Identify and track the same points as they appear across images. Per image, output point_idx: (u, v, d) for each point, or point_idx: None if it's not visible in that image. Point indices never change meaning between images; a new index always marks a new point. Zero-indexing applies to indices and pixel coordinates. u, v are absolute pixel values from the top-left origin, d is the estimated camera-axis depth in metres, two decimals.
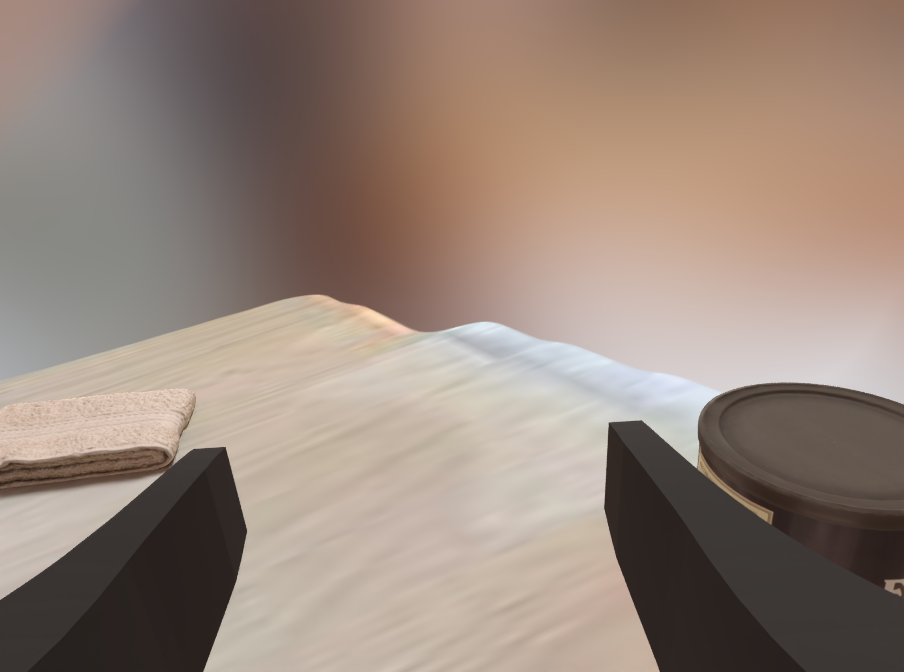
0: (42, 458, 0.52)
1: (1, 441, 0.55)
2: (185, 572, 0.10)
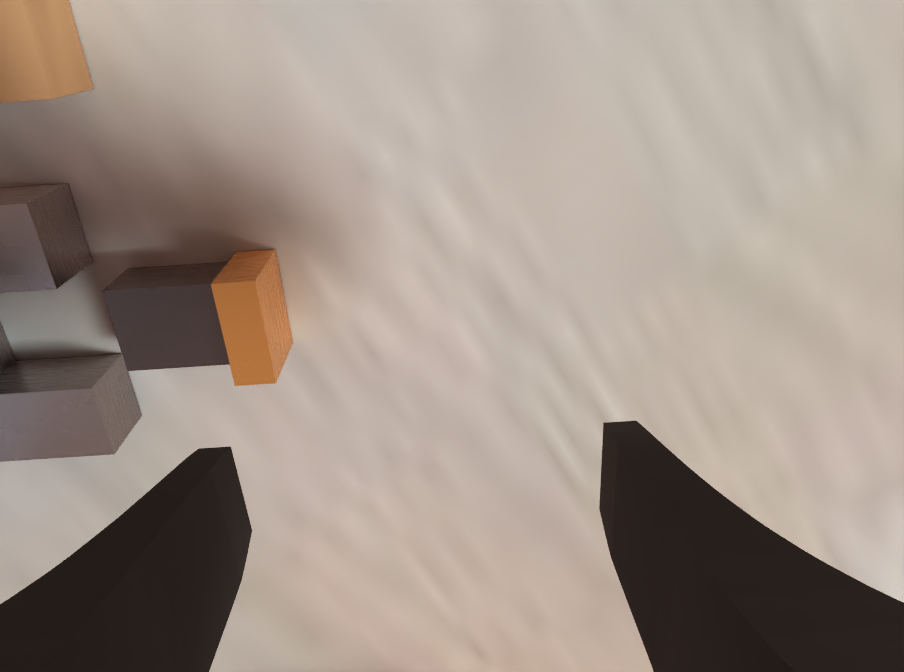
0: None
1: None
2: (191, 571, 0.10)
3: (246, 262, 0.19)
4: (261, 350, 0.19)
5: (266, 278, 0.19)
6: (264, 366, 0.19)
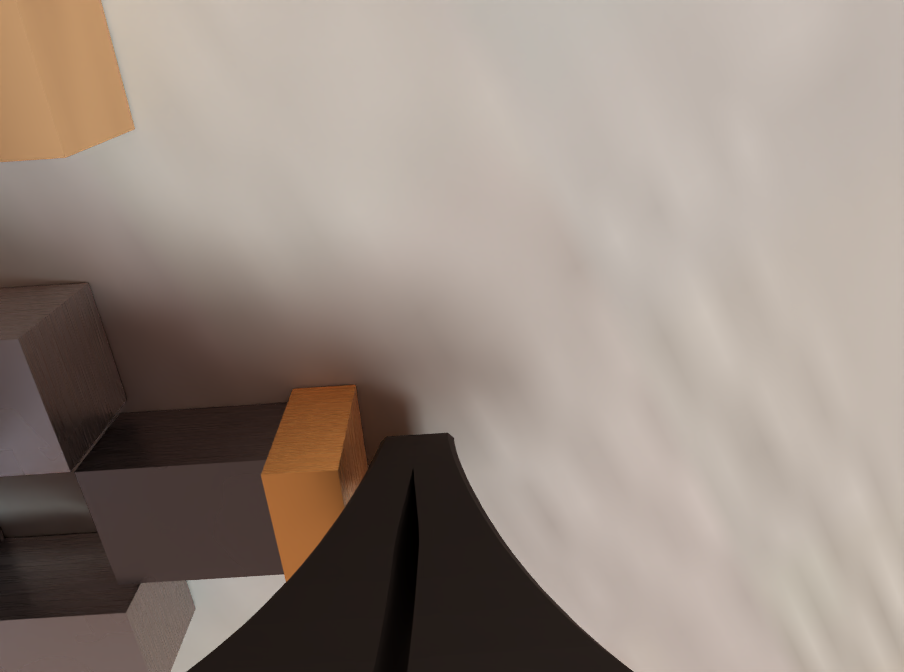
0: None
1: None
2: (412, 558, 0.10)
3: (314, 416, 0.12)
4: None
5: (349, 445, 0.12)
6: None
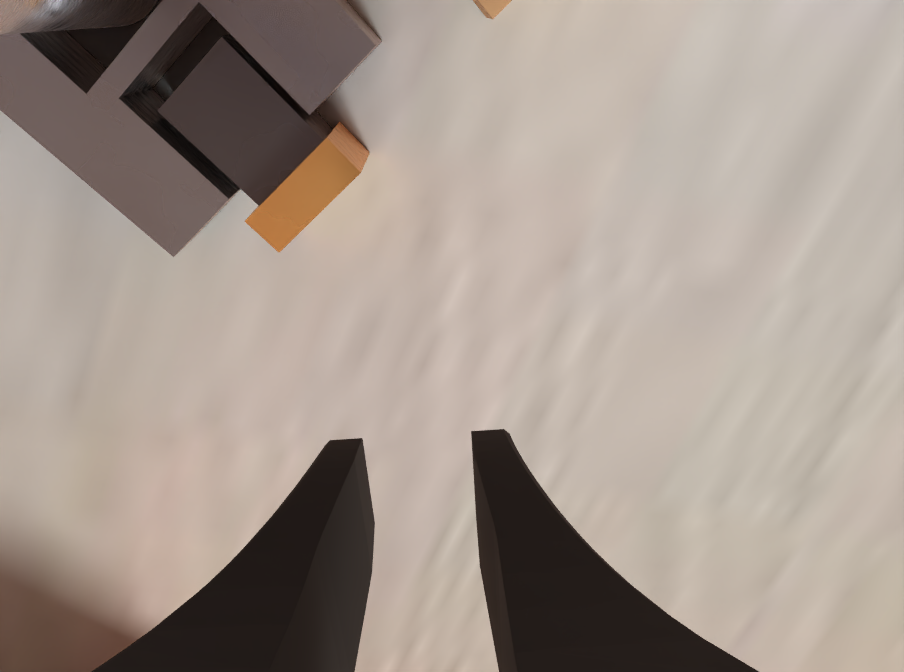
0: None
1: None
2: (345, 562, 0.10)
3: (350, 143, 0.18)
4: (299, 220, 0.18)
5: None
6: (286, 233, 0.18)
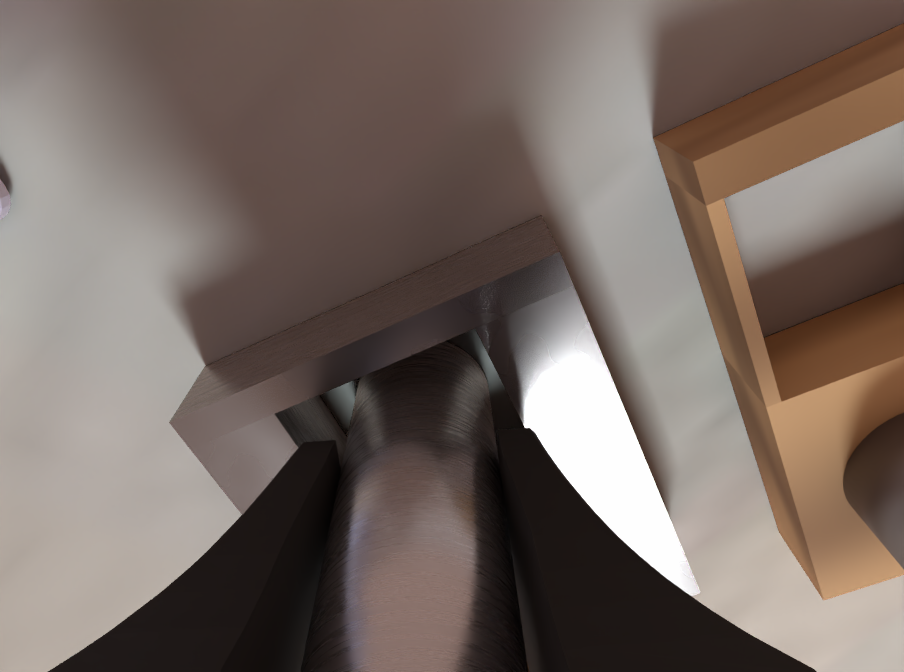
0: None
1: None
2: (313, 564, 0.10)
3: None
4: None
5: None
6: None
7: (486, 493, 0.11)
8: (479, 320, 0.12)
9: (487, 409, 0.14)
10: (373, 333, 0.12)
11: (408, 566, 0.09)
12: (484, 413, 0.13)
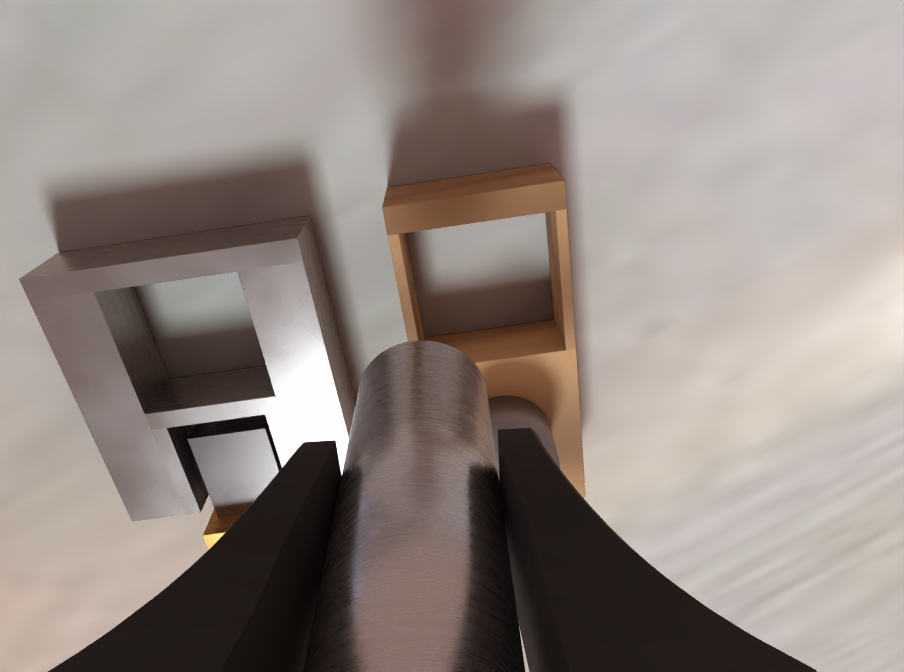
0: None
1: None
2: (314, 564, 0.10)
3: None
4: None
5: None
6: None
7: (487, 496, 0.11)
8: (240, 267, 0.19)
9: (487, 413, 0.14)
10: (170, 256, 0.19)
11: (415, 562, 0.09)
12: (484, 417, 0.13)
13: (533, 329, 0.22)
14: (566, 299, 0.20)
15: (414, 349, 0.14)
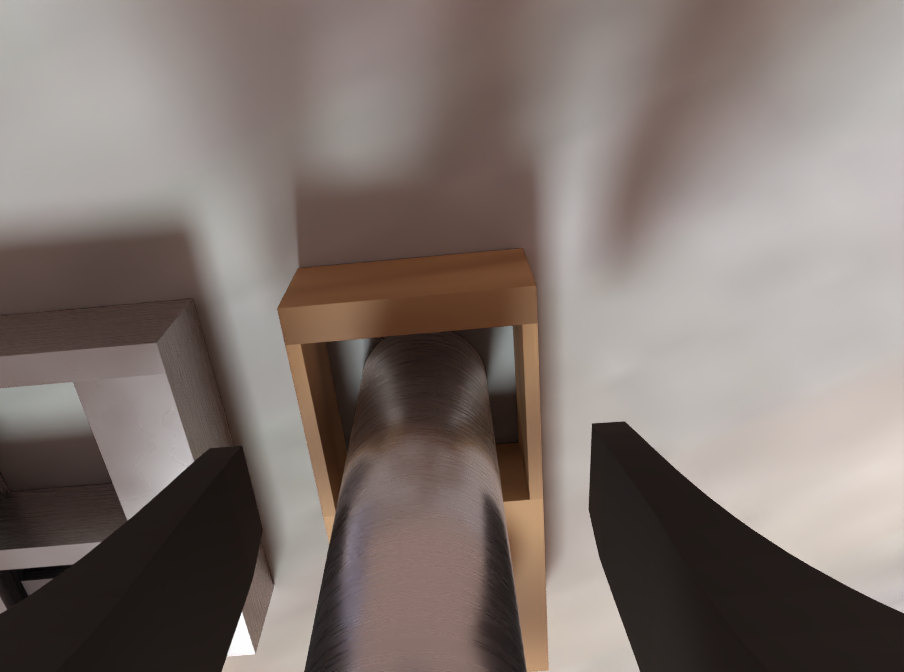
0: None
1: None
2: (204, 571, 0.10)
3: None
4: None
5: None
6: None
7: (485, 468, 0.12)
8: (77, 376, 0.13)
9: (486, 395, 0.15)
10: None
11: (419, 523, 0.10)
12: (483, 398, 0.14)
13: None
14: (532, 437, 0.14)
15: (416, 334, 0.15)
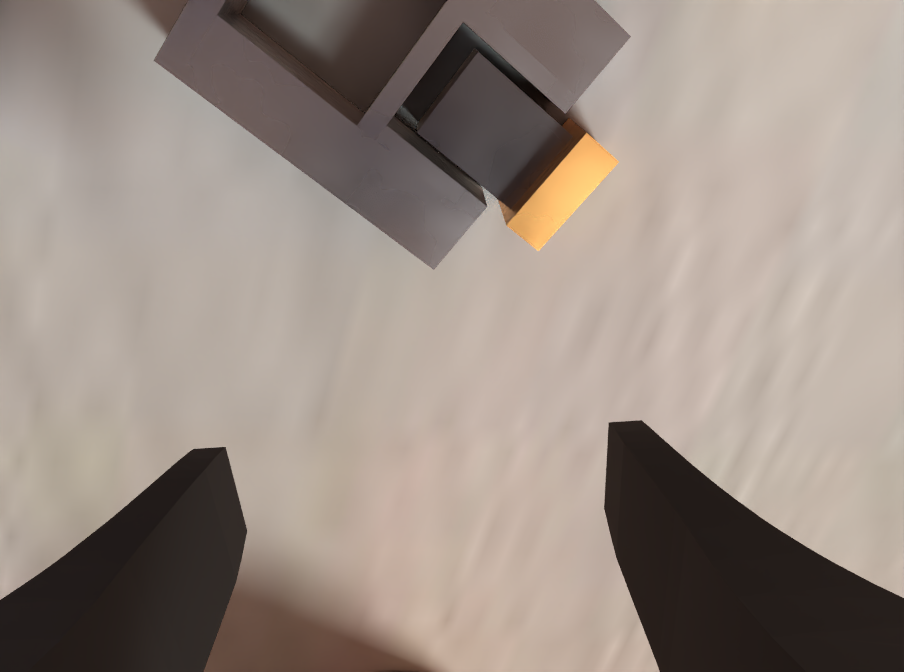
0: None
1: None
2: (185, 572, 0.10)
3: None
4: (558, 217, 0.18)
5: None
6: (545, 231, 0.19)
7: None
8: None
9: None
10: None
11: None
12: None
13: None
14: None
15: None
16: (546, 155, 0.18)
